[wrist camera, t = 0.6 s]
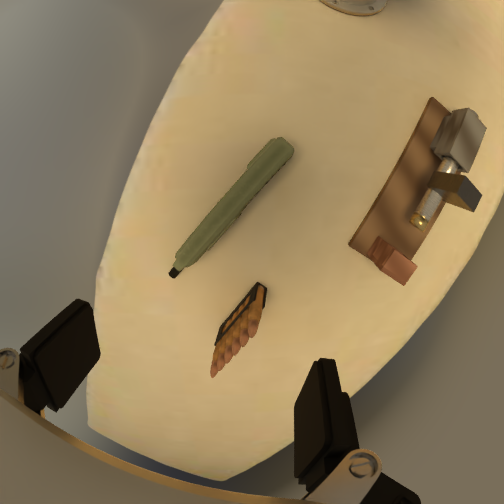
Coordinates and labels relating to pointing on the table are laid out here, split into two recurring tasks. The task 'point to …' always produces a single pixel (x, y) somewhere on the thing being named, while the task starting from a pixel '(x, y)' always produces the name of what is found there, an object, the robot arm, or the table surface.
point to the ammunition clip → (238, 327)
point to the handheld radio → (233, 203)
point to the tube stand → (415, 188)
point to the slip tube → (445, 192)
